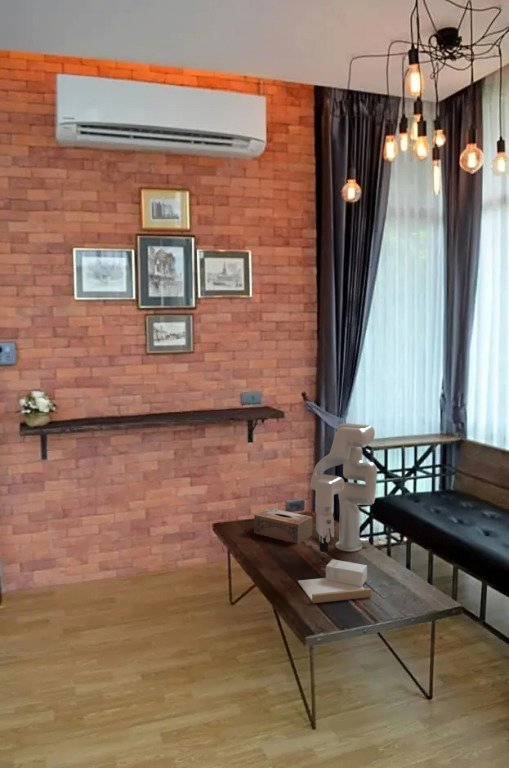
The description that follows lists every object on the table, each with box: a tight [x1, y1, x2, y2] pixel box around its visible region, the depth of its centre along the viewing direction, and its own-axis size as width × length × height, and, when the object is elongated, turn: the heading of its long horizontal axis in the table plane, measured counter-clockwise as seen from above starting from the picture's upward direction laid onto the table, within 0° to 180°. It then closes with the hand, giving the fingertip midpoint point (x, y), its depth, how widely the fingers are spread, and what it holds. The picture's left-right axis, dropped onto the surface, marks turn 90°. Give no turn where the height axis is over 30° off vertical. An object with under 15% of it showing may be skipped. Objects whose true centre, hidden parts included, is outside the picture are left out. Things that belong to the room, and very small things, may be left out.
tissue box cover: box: [253, 507, 313, 545], centre depth 306 cm, size 26×14×10 cm, turn 56°
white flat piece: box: [297, 577, 372, 604], centre depth 243 cm, size 24×19×3 cm
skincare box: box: [325, 558, 368, 587], centre depth 250 cm, size 8×7×16 cm
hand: (323, 551), depth 254 cm, fingers closed
